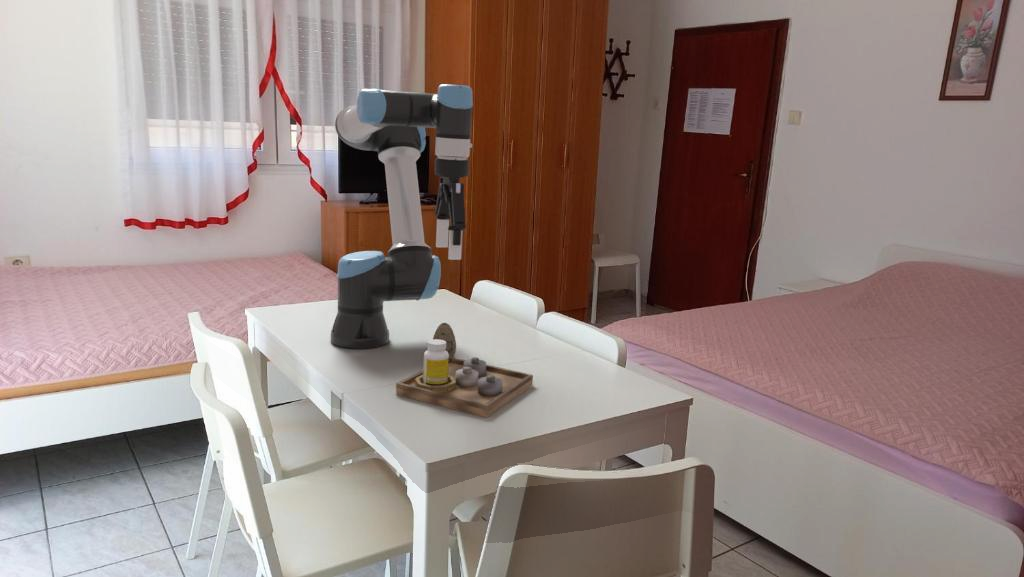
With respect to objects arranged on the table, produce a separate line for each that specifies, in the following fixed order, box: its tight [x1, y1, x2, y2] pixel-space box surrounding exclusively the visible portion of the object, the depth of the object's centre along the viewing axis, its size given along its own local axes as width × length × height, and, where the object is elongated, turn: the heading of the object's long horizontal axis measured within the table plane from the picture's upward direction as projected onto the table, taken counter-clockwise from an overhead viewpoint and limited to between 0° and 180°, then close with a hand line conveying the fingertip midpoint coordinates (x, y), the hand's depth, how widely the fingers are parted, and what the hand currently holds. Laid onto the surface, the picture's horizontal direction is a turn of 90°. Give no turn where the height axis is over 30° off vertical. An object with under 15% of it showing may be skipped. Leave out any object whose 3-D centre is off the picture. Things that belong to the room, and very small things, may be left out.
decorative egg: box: [432, 322, 457, 358], centre depth 171 cm, size 6×6×10 cm
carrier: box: [395, 356, 534, 418], centre depth 154 cm, size 22×22×5 cm
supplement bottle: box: [422, 338, 449, 386], centre depth 152 cm, size 5×5×10 cm
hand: (448, 253), depth 159 cm, fingers open, 13 cm apart
